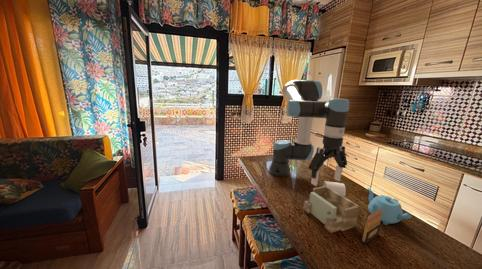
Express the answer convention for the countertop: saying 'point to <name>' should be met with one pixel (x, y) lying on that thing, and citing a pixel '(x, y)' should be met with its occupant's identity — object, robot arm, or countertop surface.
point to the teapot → (387, 208)
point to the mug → (336, 187)
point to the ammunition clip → (372, 226)
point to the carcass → (344, 213)
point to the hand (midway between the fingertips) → (325, 182)
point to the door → (321, 208)
